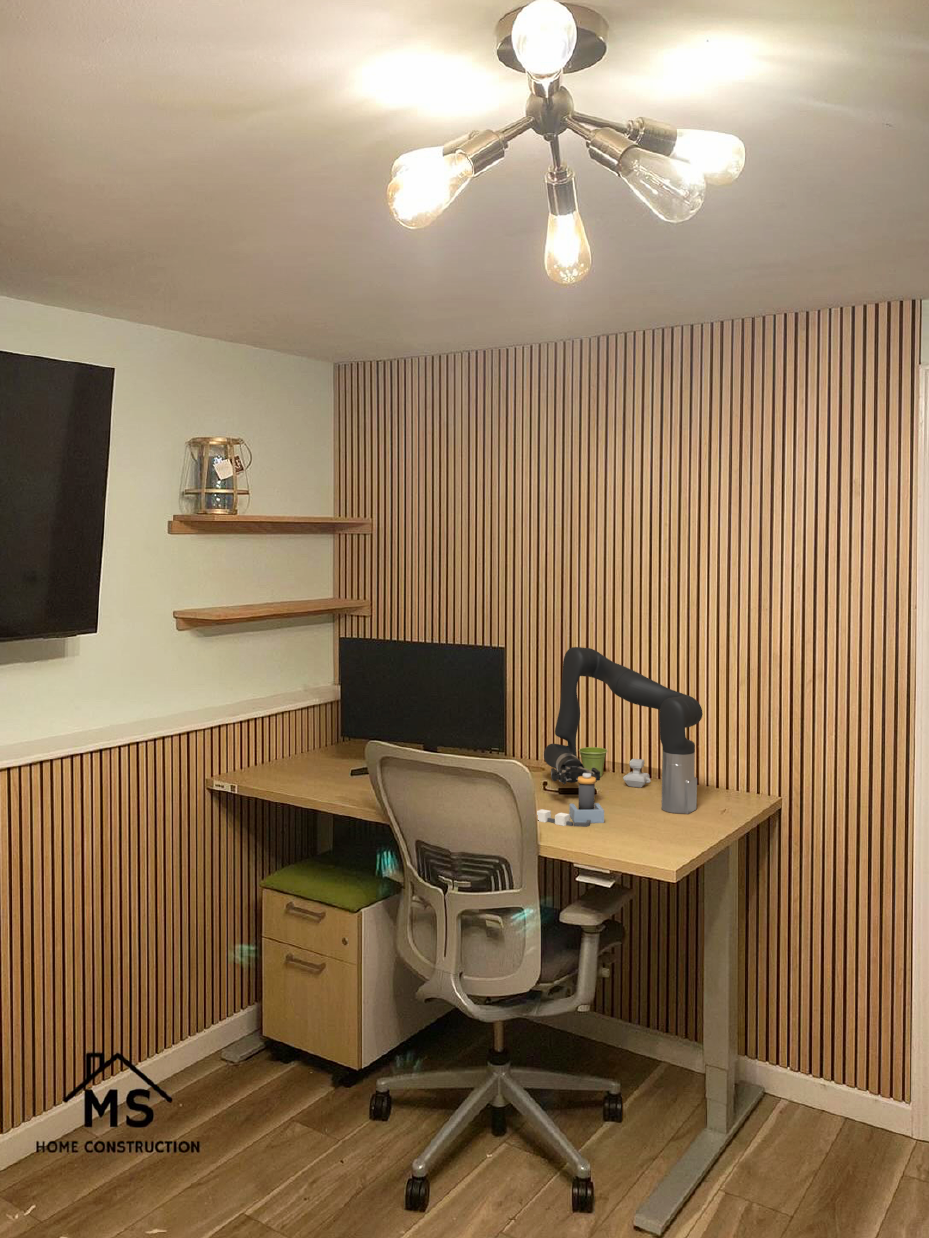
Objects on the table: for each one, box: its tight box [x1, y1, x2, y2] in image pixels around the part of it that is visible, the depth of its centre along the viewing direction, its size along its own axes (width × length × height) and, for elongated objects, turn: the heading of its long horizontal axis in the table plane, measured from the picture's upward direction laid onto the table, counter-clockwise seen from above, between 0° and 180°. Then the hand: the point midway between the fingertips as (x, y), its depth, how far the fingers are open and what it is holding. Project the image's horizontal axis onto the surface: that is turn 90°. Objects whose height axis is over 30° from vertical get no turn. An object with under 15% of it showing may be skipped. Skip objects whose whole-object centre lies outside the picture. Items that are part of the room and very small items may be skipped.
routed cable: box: [536, 808, 592, 827], centre depth 282 cm, size 15×7×3 cm, turn 54°
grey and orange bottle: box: [577, 773, 597, 810], centre depth 285 cm, size 5×5×12 cm
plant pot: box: [578, 746, 608, 778], centre depth 336 cm, size 9×9×9 cm
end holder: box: [568, 802, 605, 824], centre depth 286 cm, size 8×8×4 cm
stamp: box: [622, 758, 651, 788], centre depth 322 cm, size 9×7×8 cm
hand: (579, 780), depth 295 cm, fingers open, 8 cm apart
